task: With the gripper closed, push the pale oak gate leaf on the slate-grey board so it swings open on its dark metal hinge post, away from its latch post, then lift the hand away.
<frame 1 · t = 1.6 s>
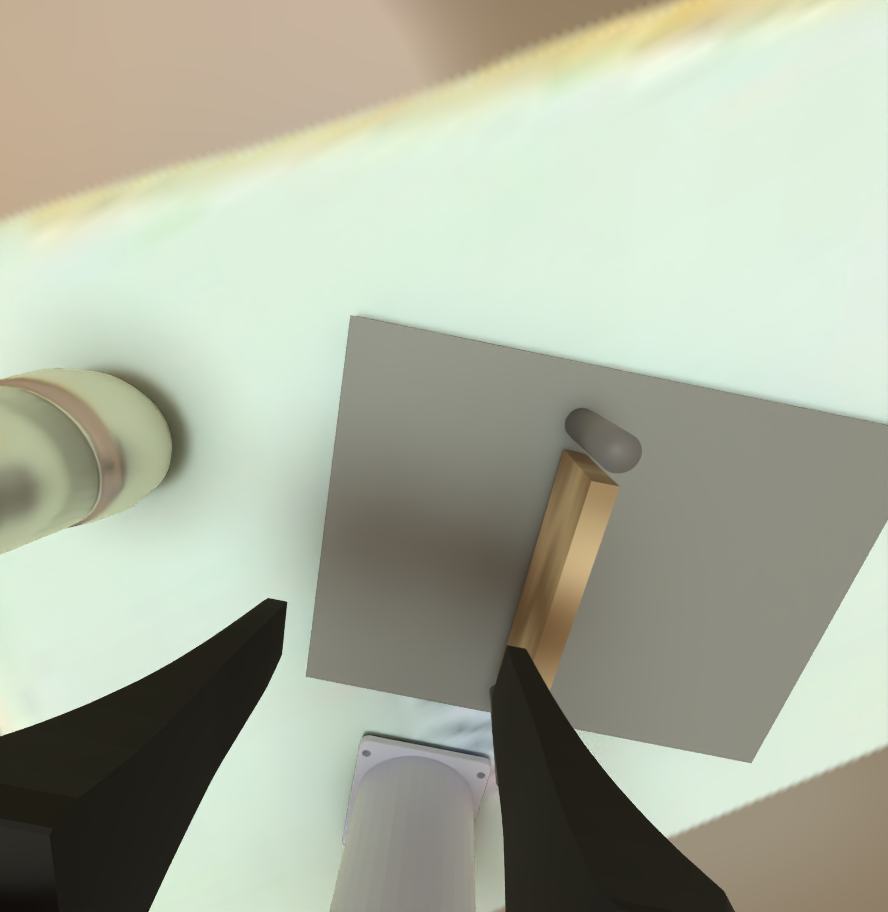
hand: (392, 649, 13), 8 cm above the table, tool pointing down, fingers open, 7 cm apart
gate board: (573, 558, 21), on the table
gate leaf: (545, 603, 18), point 4 cm above the table, hinge at 0.0°
plastic bottle: (130, 430, 20), on the table
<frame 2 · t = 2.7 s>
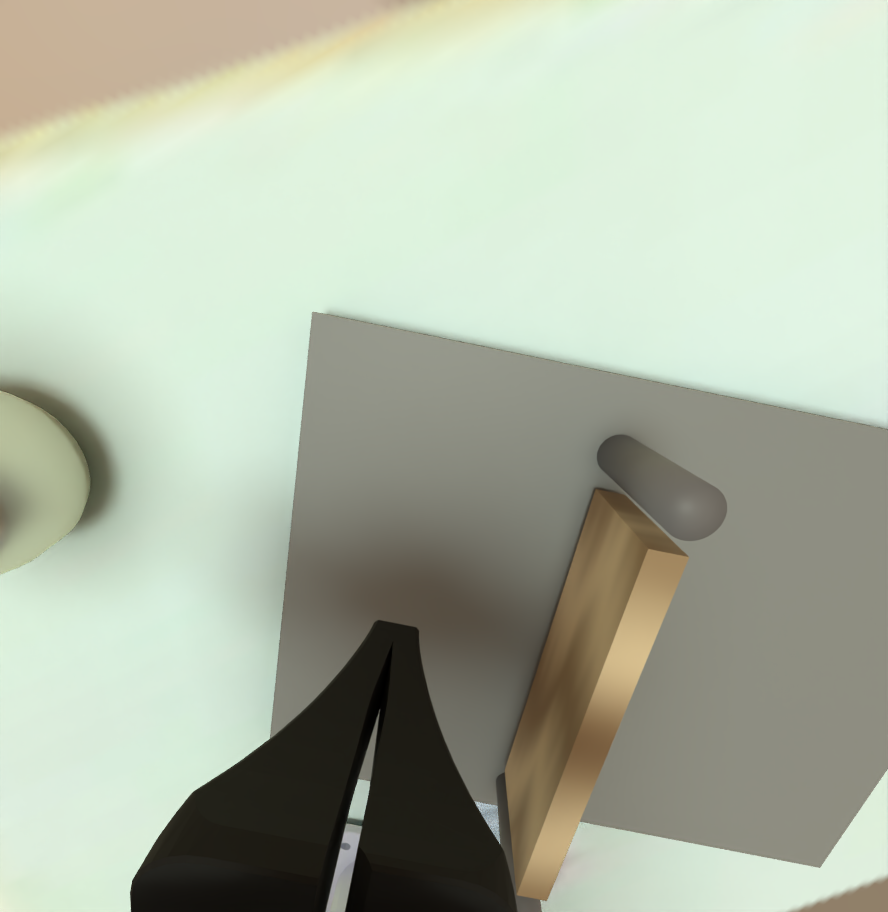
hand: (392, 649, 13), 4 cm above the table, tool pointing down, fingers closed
gate board: (601, 619, 17), on the table
gate leaf: (571, 693, 13), point 3 cm above the table, hinge at 0.0°
plastic bottle: (40, 459, 16), on the table
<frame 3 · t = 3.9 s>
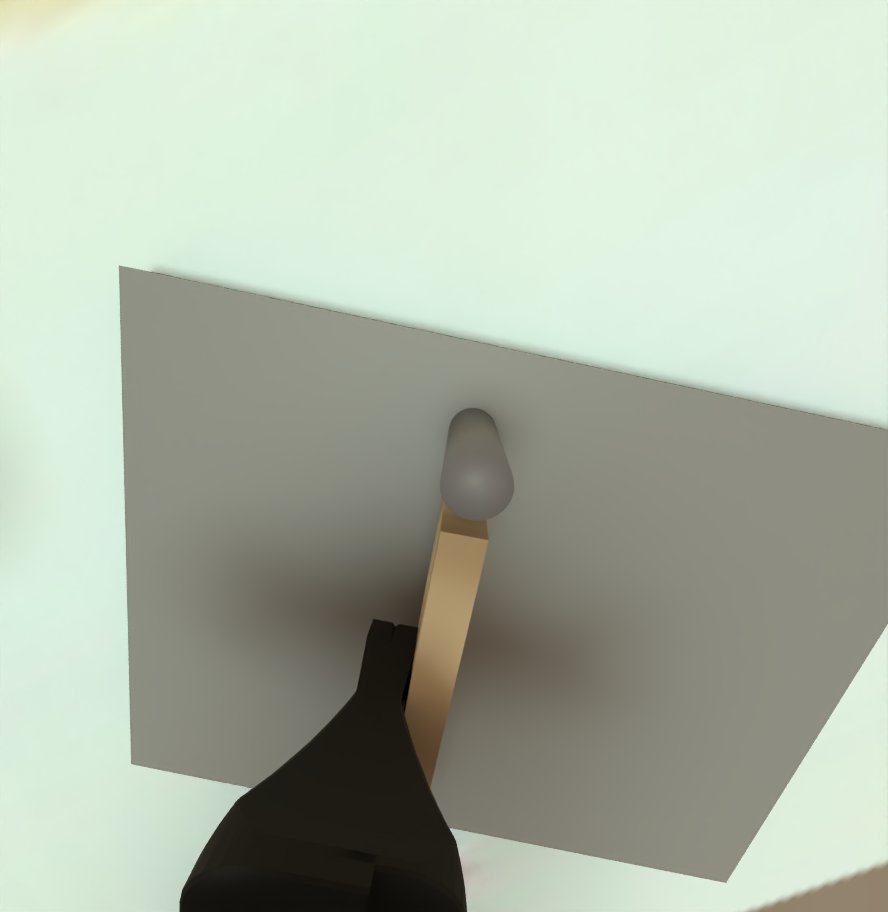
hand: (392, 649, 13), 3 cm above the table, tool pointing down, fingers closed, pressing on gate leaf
gate board: (482, 614, 15), on the table
gate leaf: (423, 696, 12), point 4 cm above the table, hinge at 1.4°, touching gripper
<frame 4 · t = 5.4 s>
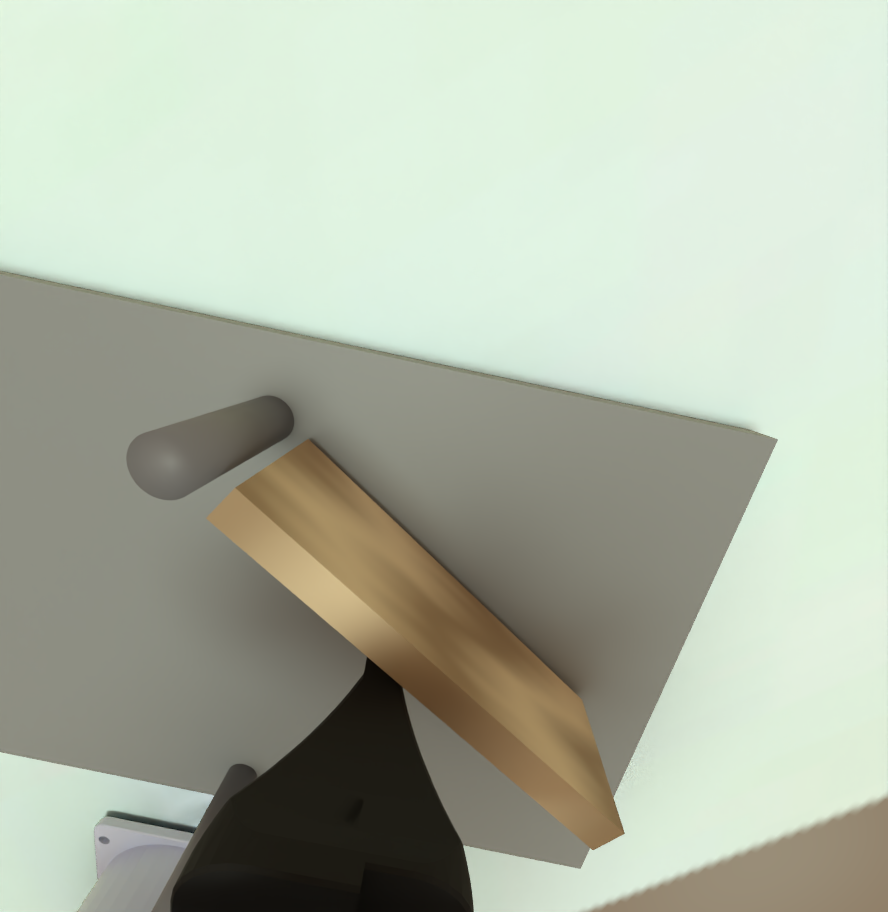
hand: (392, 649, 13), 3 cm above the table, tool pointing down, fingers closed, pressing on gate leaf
gate board: (323, 601, 15), on the table
gate leaf: (441, 632, 11), point 4 cm above the table, hinge at 55.2°, touching gripper
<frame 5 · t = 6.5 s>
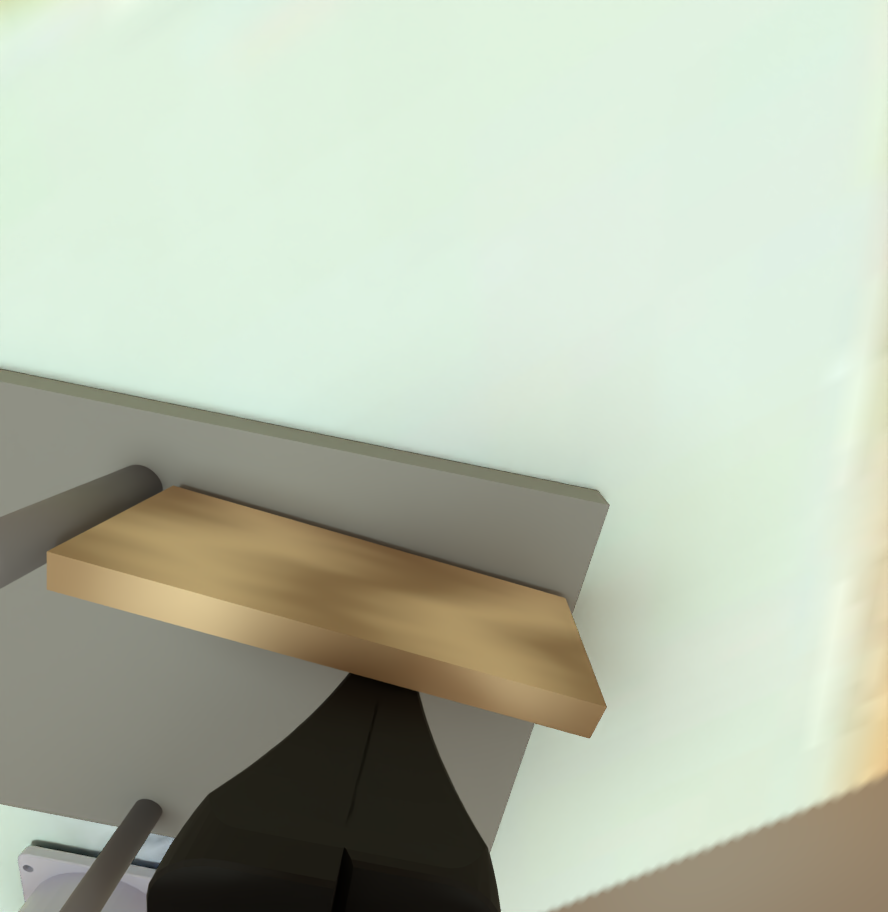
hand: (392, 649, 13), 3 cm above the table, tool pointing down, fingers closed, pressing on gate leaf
gate board: (217, 646, 16), on the table
gate leaf: (352, 594, 11), point 4 cm above the table, hinge at 84.8°, touching gripper
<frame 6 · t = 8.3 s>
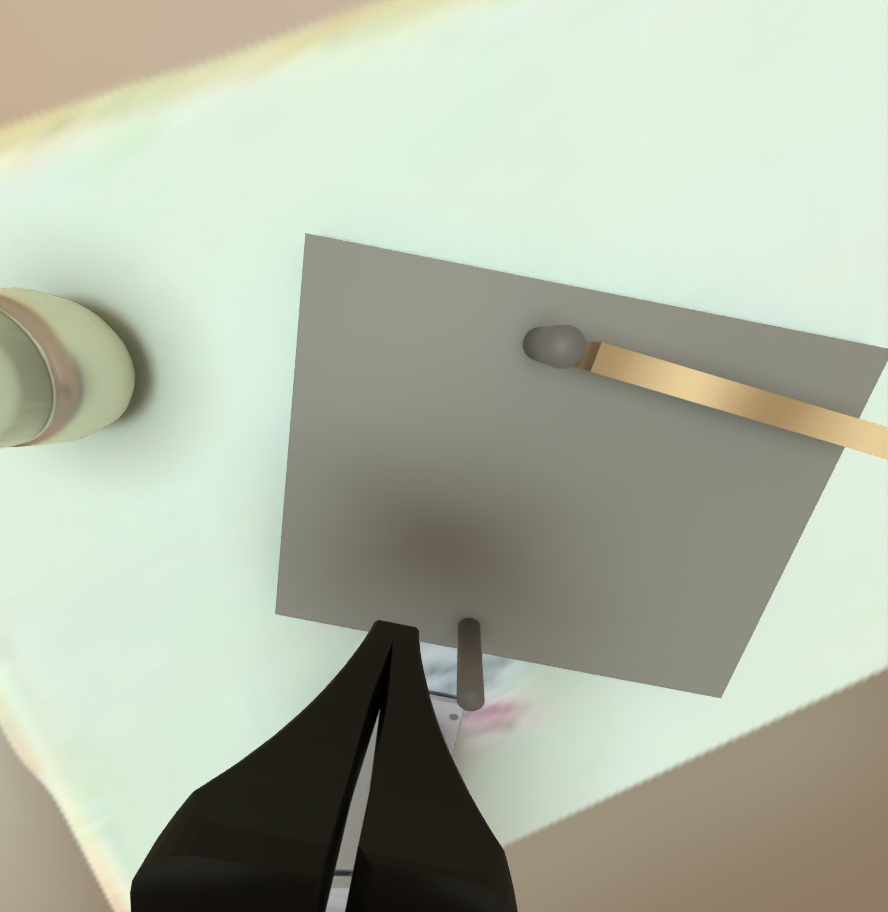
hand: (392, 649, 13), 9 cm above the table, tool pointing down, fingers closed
gate board: (538, 490, 21), on the table
gate leaf: (737, 400, 16), point 4 cm above the table, hinge at 84.9°
plastic bottle: (94, 364, 20), on the table
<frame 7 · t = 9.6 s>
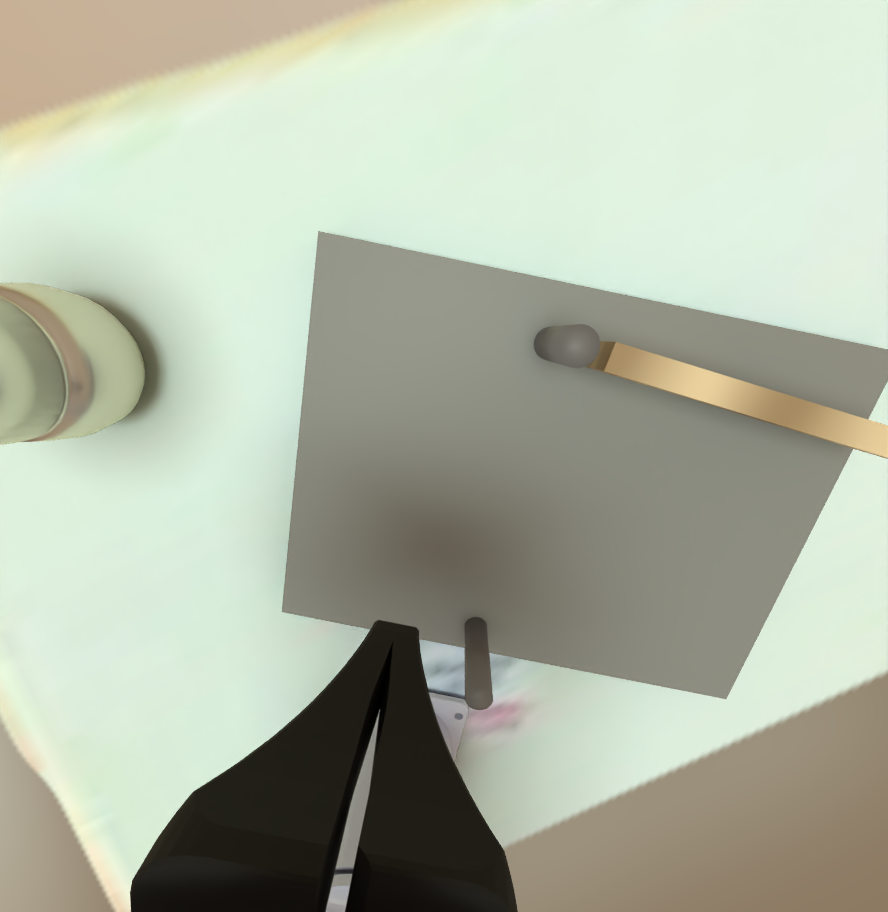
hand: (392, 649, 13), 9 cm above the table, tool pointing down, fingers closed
gate board: (546, 490, 21), on the table
gate leaf: (748, 401, 16), point 4 cm above the table, hinge at 84.9°
plastic bottle: (104, 360, 20), on the table
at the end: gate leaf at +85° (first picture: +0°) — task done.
